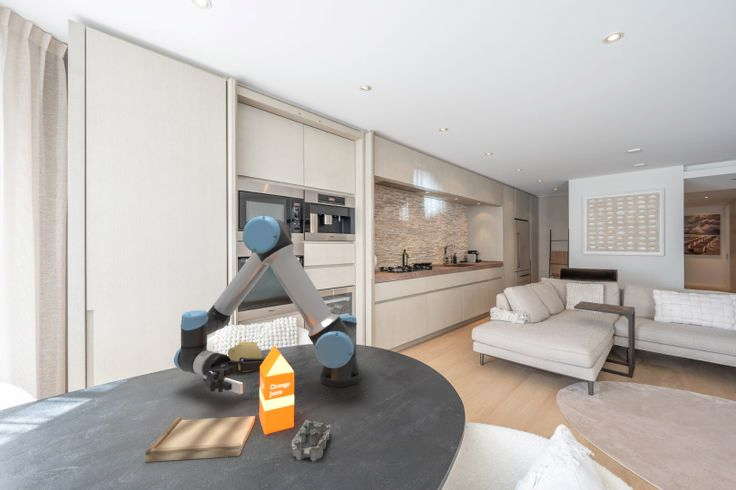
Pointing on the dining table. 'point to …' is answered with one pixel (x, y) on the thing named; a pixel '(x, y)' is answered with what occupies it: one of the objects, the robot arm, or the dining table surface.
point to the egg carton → (311, 440)
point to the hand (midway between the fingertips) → (261, 378)
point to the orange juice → (276, 393)
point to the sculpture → (244, 351)
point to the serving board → (201, 439)
